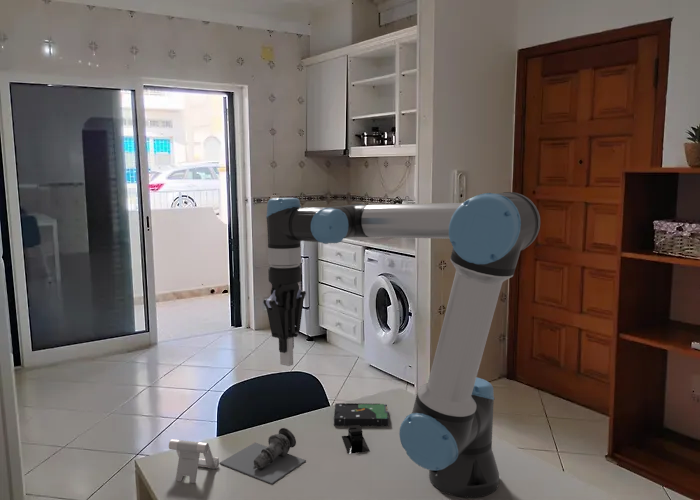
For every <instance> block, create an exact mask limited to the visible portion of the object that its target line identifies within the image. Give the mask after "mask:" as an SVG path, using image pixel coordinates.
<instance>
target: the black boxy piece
mask: <svg viewBox="0 0 700 500" xmlns="http://www.w3.org/2000/svg"><path fill="white" fill-rule="evenodd" d="M347 428H348V429H347V430H348V431H347V435H341V439H342V442H343V444H344V447H345V449H346V453H347V454H348V455H350V454H359V453H360V454H361V453H370V452H371V450H370V448H369V446H368V444H367V442H366V440H365V438H364V435H363V430H362V426H360V425H352V426H347Z"/></svg>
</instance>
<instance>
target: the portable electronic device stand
mask: <svg viewBox="0 0 700 500" xmlns="http://www.w3.org/2000/svg"><path fill="white" fill-rule="evenodd" d="M168 448H169V450H172V451H176V453H177V457H178V462H177V468H176V475H175V481H177V482H182V480H183V477H184V476H186V477H189V483H190V484H194V483H196V482H197V475H198V468H207V469H211V470H213V469H215V470H216V469H218V468H219V465H220V460H219V457H213V453H212V451H211V447H210V445H209V443H208V442H201V441H200V442H198V441H191V440H190V441H189V440H181V439H174V438H173V439H170V440H169V442H168ZM201 454H203V457H204V459H203V458H200V455H201Z"/></svg>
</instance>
